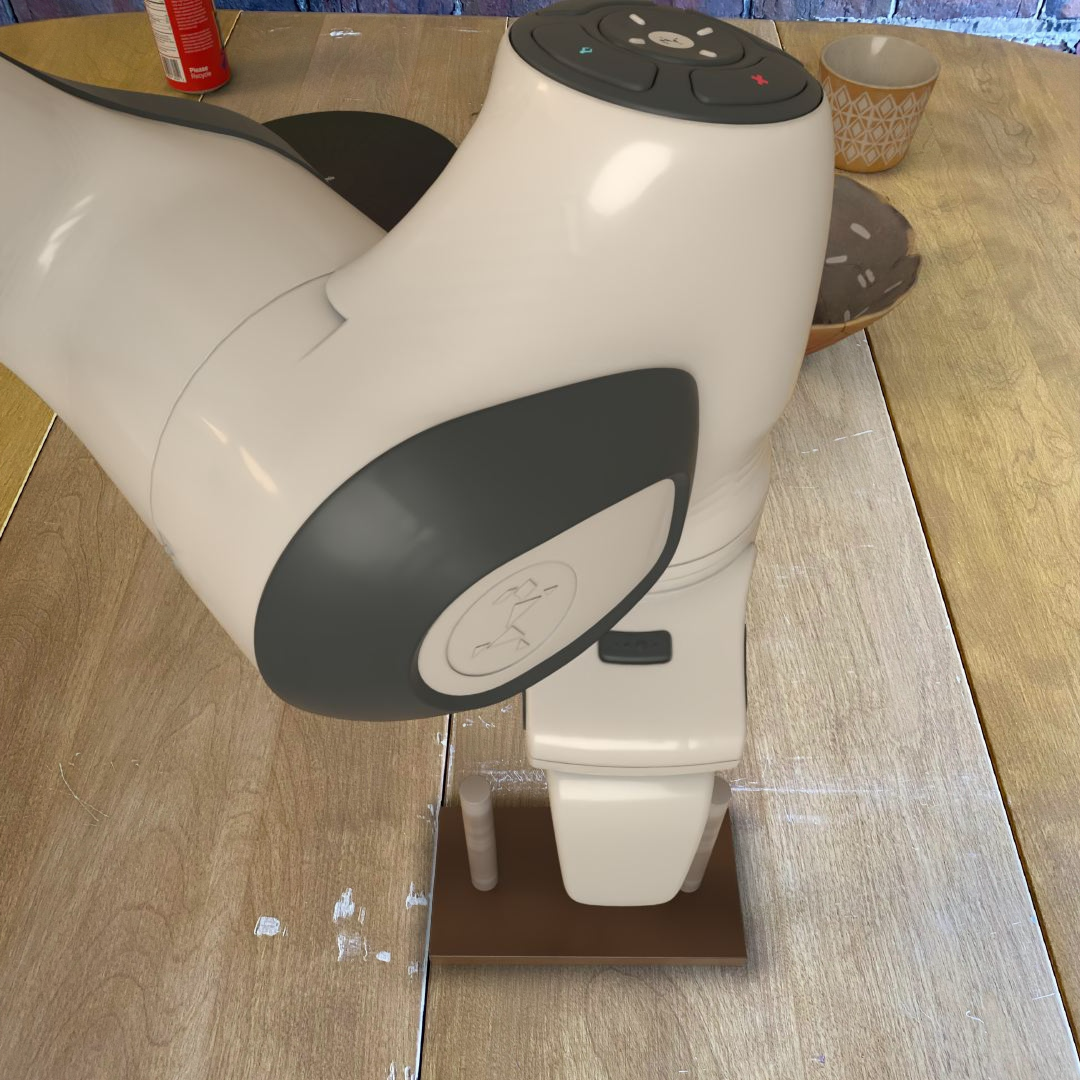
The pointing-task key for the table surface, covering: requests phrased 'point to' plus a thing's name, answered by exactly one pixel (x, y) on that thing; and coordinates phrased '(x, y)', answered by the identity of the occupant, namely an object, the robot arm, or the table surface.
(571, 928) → the cup rack
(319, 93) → the table surface
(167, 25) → the soda can
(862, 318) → the bowl
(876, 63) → the planter
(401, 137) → the disc
